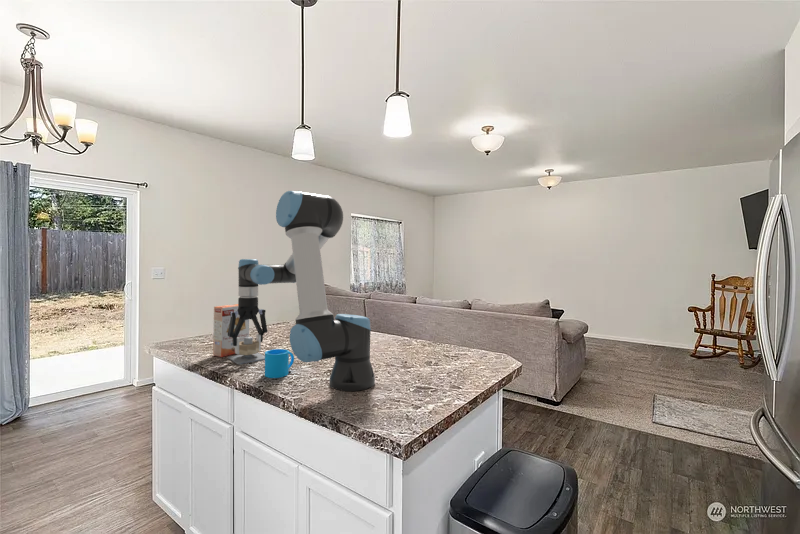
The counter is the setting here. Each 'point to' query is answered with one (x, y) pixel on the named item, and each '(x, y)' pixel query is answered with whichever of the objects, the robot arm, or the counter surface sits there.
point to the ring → (248, 348)
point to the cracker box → (226, 330)
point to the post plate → (242, 361)
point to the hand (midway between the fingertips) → (247, 351)
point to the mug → (277, 363)
